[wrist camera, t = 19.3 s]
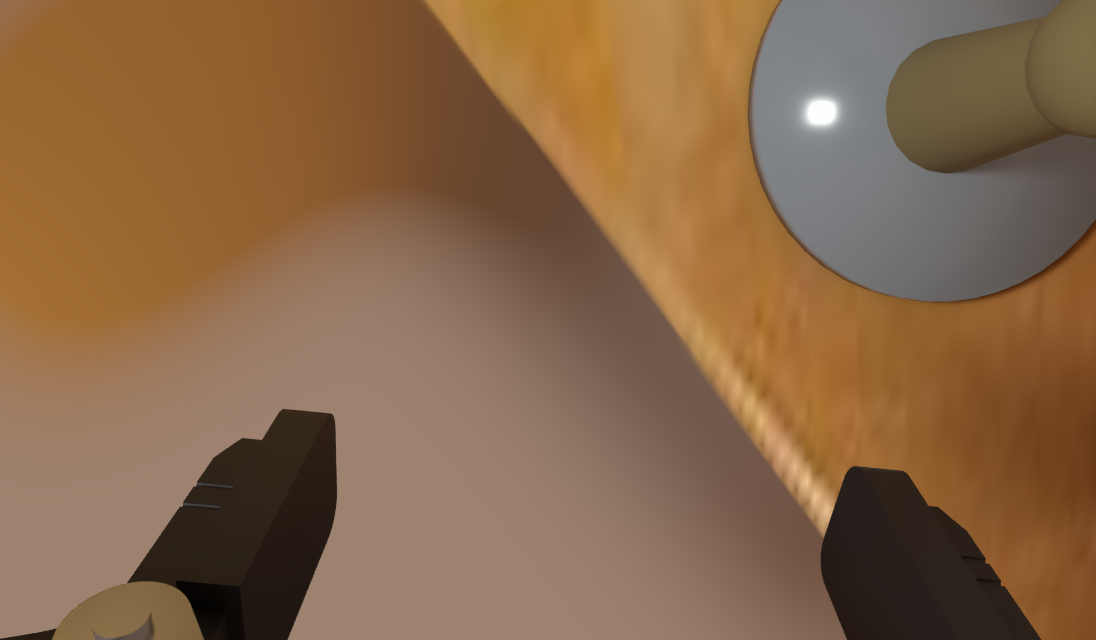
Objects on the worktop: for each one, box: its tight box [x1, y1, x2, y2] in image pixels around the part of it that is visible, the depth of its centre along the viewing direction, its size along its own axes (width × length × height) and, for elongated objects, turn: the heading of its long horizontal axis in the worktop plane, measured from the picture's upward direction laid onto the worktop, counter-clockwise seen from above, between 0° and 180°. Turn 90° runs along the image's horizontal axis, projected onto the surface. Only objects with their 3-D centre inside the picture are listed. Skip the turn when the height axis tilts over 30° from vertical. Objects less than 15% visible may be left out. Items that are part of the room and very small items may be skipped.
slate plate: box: [748, 0, 1096, 302], centre depth 35 cm, size 18×18×1 cm
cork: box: [885, 0, 1096, 174], centre depth 29 cm, size 6×6×11 cm
